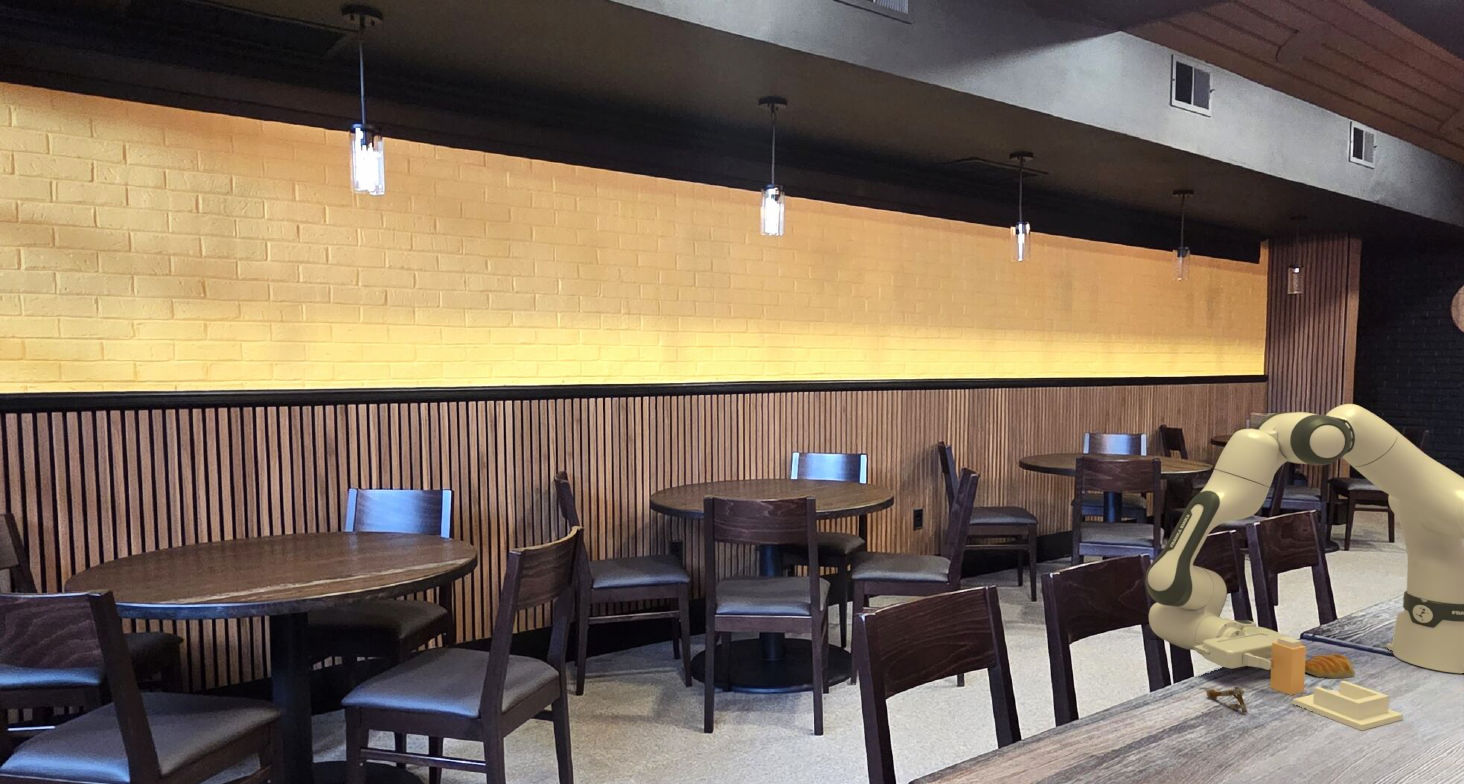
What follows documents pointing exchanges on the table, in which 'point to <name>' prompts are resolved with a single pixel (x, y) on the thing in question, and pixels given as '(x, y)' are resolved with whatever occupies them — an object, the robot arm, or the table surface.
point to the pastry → (1329, 666)
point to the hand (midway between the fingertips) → (1287, 661)
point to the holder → (1351, 706)
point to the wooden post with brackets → (1214, 694)
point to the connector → (1288, 666)
